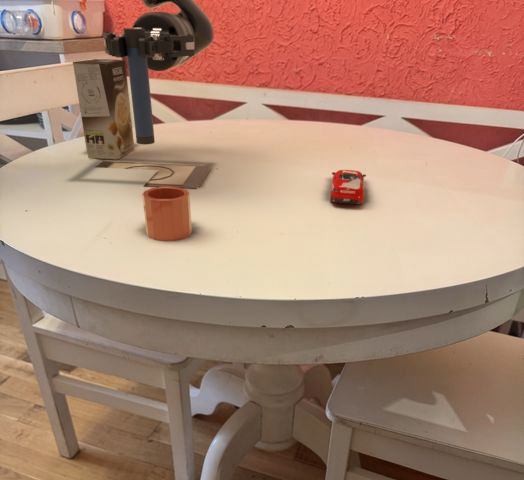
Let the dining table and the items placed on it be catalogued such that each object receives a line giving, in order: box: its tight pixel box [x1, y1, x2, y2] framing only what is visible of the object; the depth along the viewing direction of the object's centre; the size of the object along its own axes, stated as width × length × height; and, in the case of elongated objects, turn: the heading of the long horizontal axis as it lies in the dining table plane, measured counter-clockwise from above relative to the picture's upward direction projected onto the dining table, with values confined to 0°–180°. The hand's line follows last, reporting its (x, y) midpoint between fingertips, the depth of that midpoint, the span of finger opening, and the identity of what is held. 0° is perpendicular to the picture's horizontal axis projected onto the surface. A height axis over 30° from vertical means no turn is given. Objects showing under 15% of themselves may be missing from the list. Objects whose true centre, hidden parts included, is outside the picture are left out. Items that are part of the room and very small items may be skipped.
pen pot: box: [141, 187, 193, 242], centre depth 63 cm, size 6×6×6 cm
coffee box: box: [72, 58, 135, 161], centre depth 94 cm, size 9×6×16 cm
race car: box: [329, 169, 367, 205], centre depth 79 cm, size 13×5×4 cm, turn 170°
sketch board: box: [95, 160, 212, 190], centre depth 86 cm, size 20×14×1 cm
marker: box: [123, 27, 156, 146], centre depth 69 cm, size 3×3×14 cm
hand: (129, 48), depth 64 cm, fingers closed on marker, 2 cm apart
